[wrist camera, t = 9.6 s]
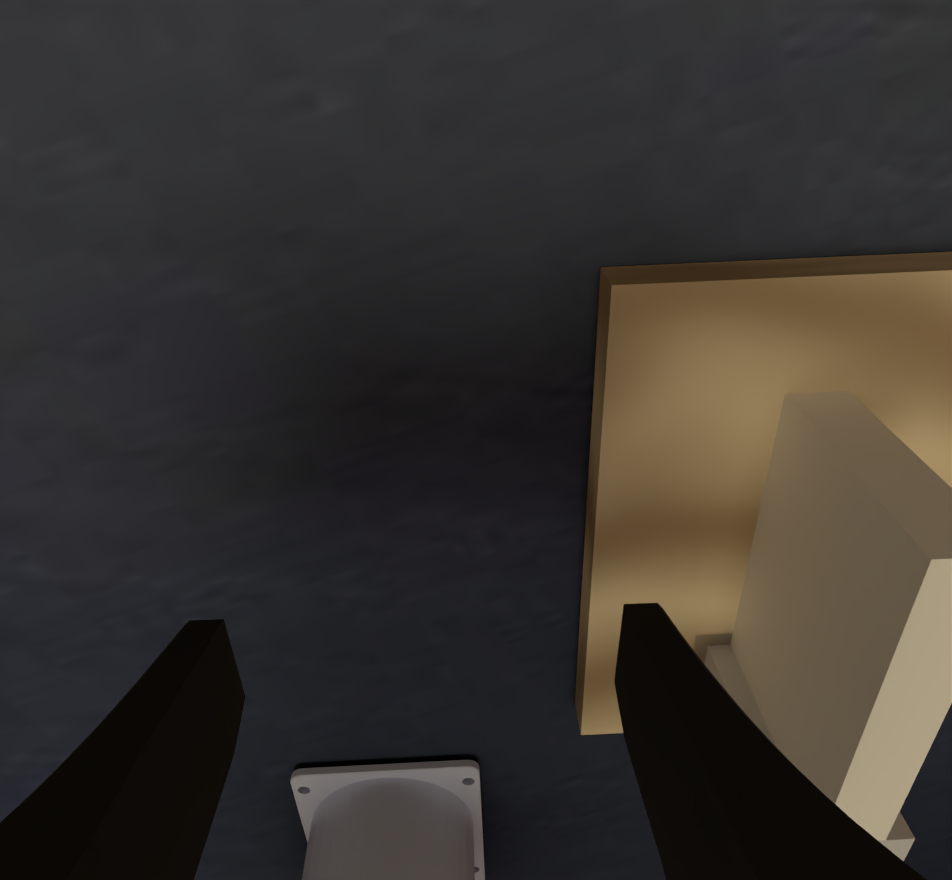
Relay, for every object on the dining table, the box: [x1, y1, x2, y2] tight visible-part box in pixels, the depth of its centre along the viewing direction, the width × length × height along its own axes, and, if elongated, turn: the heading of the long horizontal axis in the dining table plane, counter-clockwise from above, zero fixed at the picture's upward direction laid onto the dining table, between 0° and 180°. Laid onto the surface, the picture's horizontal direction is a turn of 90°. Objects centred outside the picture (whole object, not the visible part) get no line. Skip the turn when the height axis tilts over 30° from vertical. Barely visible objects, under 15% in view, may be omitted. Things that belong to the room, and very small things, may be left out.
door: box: [704, 391, 952, 861], centre depth 20 cm, size 13×3×7 cm, turn 2°
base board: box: [575, 252, 952, 735], centre depth 22 cm, size 18×12×5 cm, turn 2°
